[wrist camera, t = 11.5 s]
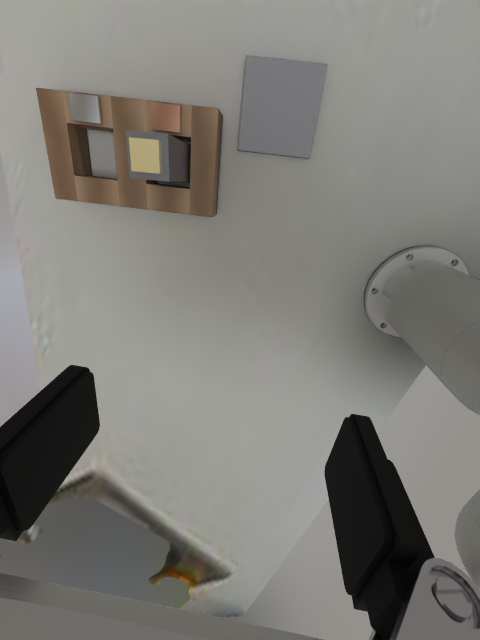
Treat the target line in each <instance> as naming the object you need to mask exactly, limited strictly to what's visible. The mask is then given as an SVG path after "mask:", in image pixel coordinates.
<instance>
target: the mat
mask: <svg viewBox="0 0 480 640" xmlns="http://www.w3.org/2000/svg"><path fill="white" fill-rule="evenodd" d="M327 65H328V64H322V63H313V62H304V61H294V60H285V59H276V58H267V57H258V56H249V55H246V64H245V75H244V87H243V98H242V109H241V121H240V132H239V144H238V150H239V151H248V152H256V153H265V154H273V155H282V156H291V157H299V158H308V159H309V158H310V155H311V150H312V144H313V139H314V134H315V128H316V123H317V118H318V113H319V107H320V102H321V97H322V91H323V86H324V81H325V75H326V70H327Z"/></svg>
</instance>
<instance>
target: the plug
mask: <svg viewBox="0 0 480 640" xmlns="http://www.w3.org/2000/svg"><path fill="white" fill-rule="evenodd" d="M126 140H127V151H128V163H129V175H130V178H135V179H146V180H157V181H168V182H190V162H191V145H189V144H187V143H185V142H183V141H181V140H179V139H177V138H175V137H173V136H171V135H169V134H164V133H153V132H141V131H130V130H126Z"/></svg>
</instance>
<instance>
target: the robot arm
mask: <svg viewBox="0 0 480 640" xmlns="http://www.w3.org/2000/svg"><path fill="white" fill-rule="evenodd" d="M407 255H408V257H406V256H407ZM373 288H374V290H372V289H373ZM364 301H365V309H366V313H367V315H368V317H369V318H370V320H371V321H372V323H373V324H374V325H375V326H376V327H377V328H378V329H379V330H381V331H382V332H384V333H386V334H388V335H391V336H395V337H402V338H403V340H404V341H405V342H406V343H407V344H408V345H409V346H410V347H411V348H412V350H413V351H414V352H415V353H416V354H417V355H418V356H419V357H420V358H421V360H422V361H423V362H424V363H425V364H426V365H427V366H428V367H429V368H430V370H431V371H432V372H433V373H434V374H435V375H436V376H437V377H438V378H439V380H440V381H441V382H442V383H443V384H444V385H445V386H446V387H447V388H448V389H449V390H450V391H451V393H452V394H453V395H454V396H455V397H456V398H457V399H458V400H459V401H460V402H461V403H462V404H464V405H465V406H466V407H467V408H469V409H470V410H472V411H473V412H475V413H477V414H479V415H480V280H478V279H476V278H474V277H472V276H469V272H468V269H467V267H466V265H465V263H464V262H463V261H462V259H461V258H459V257H458V256H457V255H456V254H455V253H452V252H450V251H448V250H446V249H443V248H440V247H434V246H418V247H414V248H410V249H406V250H404V251H402V252H399V253H397V254H396V255H394V256H392V257H391V258H389V259H388V260H387V261H385V262H384V263H383V264H382V265H381V266H380V267H379V268H378V269H377V270H376V272H375V273H374V274H373V276H372V277H371V279H370V281H369V283H368V285H367V288H366V292H365V298H364ZM99 427H100V422H99V414H98V407H97V399H96V391H95V383H94V376H93V373H91V372H90V370H89V369H88V368H87V367H81V366H75V365H70V366H69V367H67V368H66V369H65V370H64V371H63V372H62V373H61V374H59V375H58V376H57V377H56V378H55V379H54V380H53V381H52V382H50V383H49V384H48V385H47V386H46V387H45V388H44V389H43V390H41V391H40V392H39V393H38V394H37V395H36V396H35V397H34V398H32V399H31V400H30V401H29V402H28V403H27V404H26V405H25V406H23V408H21V409H20V410H19V411H18V412H17V413H16V414H14V415H13V416H12V417H11V418H10V419H9V420H8V421H7V422H5V423H4V424H3V425H2V426H1V427H0V538H3V539H8V540H13V541H16V540H17V539H18V538H19V536H20V535H21V533H22V532H23V531H24V530H27V529H29V528H30V527H31V526H32V525H33V524H34V522H35V521H36V519H37V518H38V517H39V515H40V514H41V512H42V511H43V510H44V508H45V507H46V505H47V504H48V502H49V501H50V500H51V498H52V497H53V495H54V494H55V493H56V491H57V490H58V488H59V487H60V485H61V484H62V483H63V481H64V480H65V478H66V477H67V476H68V474H69V473H70V471H71V470H72V468H73V467H74V466H75V464H76V463H77V461H78V460H79V459H80V457H81V456H82V454H83V453H84V452H85V450H86V449H87V447H88V446H89V444H90V443H91V442H92V440H93V439H94V437H95V436H96V434H97V433H98V430H99ZM325 480H326V485H327V491H328V496H329V502H330V507H331V513H332V518H333V524H334V530H335V535H336V541H337V547H338V552H339V558H340V563H341V568H342V574H343V580H344V585H345V589H346V592H347V593H348V594H349V595H352V599H353V605H354V609H358V610H362V611H367V612H368V615H369V619H370V623H371V626H372V628H373V631H372V633H371V635H370V638H369V640H480V490H479V491H478V492H477V493H476V494H475V495H474V496H473V497H472V498H471V499H470V500H469V501H468V502H467V503H466V504H465V506H464V507H463V508H462V510H461V512H460V513H459V515H458V518H457V521H456V526H455V540H456V545H457V550H458V552H459V555H460V558H461V560H462V562H463V564H464V567H465V569H466V571H467V573H468V574H469V576H470V578H471V579H472V580H471V579H470V578H469V577H468V576H467V575H466V574H465V573H464V572H463V571H462V570H460V569H459V568H457V567H456V566H454V565H453V564H452V563H450V562H447V561H445V560H443V559H437V558H434V555H433V553H432V551H431V548H430V546H429V544H428V541H427V539H426V537H425V535H424V532H423V530H422V528H421V526H420V523H419V521H418V518H417V516H416V514H415V511H414V509H413V507H412V505H411V502H410V500H409V498H408V496H407V493H406V491H405V489H404V486H403V484H402V482H401V479H400V477H399V475H398V473H397V470H396V468H395V466H394V464H393V463H392V462H391V461H390V460H388V459H387V457H386V455H385V452H384V450H383V447H382V445H381V443H380V440H379V438H378V435H377V433H376V431H375V428H374V426H373V423H372V421H371V419H370V418H369V417H367V416H361V415H356V414H351V415H350V417H346V418H345V419H344V421H343V423H342V426H341V428H340V431H339V433H338V436H337V438H336V441H335V443H334V446H333V448H332V451H331V453H330V456H329V458H328V461H327V463H326V466H325ZM0 640H321V639H318V638H313V637H309V636H304V635H300V634H296V633H291V632H287V631H282V630H277V629H272V628H268V627H263V626H258V625H253V624H249V623H244V622H239V621H234V620H230V619H224V618H220V617H215V616H211V615H206V614H201V613H196V612H191V611H187V610H182V609H177V608H172V607H167V606H162V605H157V604H152V603H147V602H142V601H138V600H133V599H128V598H123V597H118V596H113V595H108V594H103V593H98V592H94V591H89V590H83V589H78V588H73V587H68V586H63V585H58V584H53V583H48V582H43V581H38V580H32V579H28V578H23V577H18V576H13V575H7V574H2V573H0Z"/></svg>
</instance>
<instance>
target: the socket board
mask: <svg viewBox="0 0 480 640" xmlns="http://www.w3.org/2000/svg"><path fill="white" fill-rule="evenodd" d="M36 90H37V96H38V102H39V107H40V113H41V119H42V124H43V130H44V136H45V141H46V147H47V153H48V159H49V164H50V170H51V176H52V181H53V187H54V193H55V198H56V199H65V200H73V201H81V202H90V203H98V204H106V205H115V206H123V207H131V208H140V209H148V210H156V211H165V212H173V213H181V214H190V215H198V216H206V217H213V216H215V215H216V214H217V200H218V184H219V169H220V153H221V137H222V121H223V116H222V114H221V112H220V110H219V109H218V108H210V107H201V106H192V105H183V104H175V103H166V102H157V101H148V100H139V99H131V98H122V97H113V96H104V95H95V94H87V93H78V92H69V91H60V90H51V89H43V88H36ZM86 129H94V130H102V131H111V132H114V145H115V157H116V169H117V179H112V178H103V177H95V176H92V175H91V166H90V158H89V149H88V141H87V132H86ZM126 130H130V131H141V132H153V133H164V134H169V135H171V136H173V137H175V138H177V139H180V140H189V141H191V162H190V188H188V187H179V186H171V185H162V184H157V180H146V179H135V178H130V175H129V163H128V151H127V140H126Z"/></svg>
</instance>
